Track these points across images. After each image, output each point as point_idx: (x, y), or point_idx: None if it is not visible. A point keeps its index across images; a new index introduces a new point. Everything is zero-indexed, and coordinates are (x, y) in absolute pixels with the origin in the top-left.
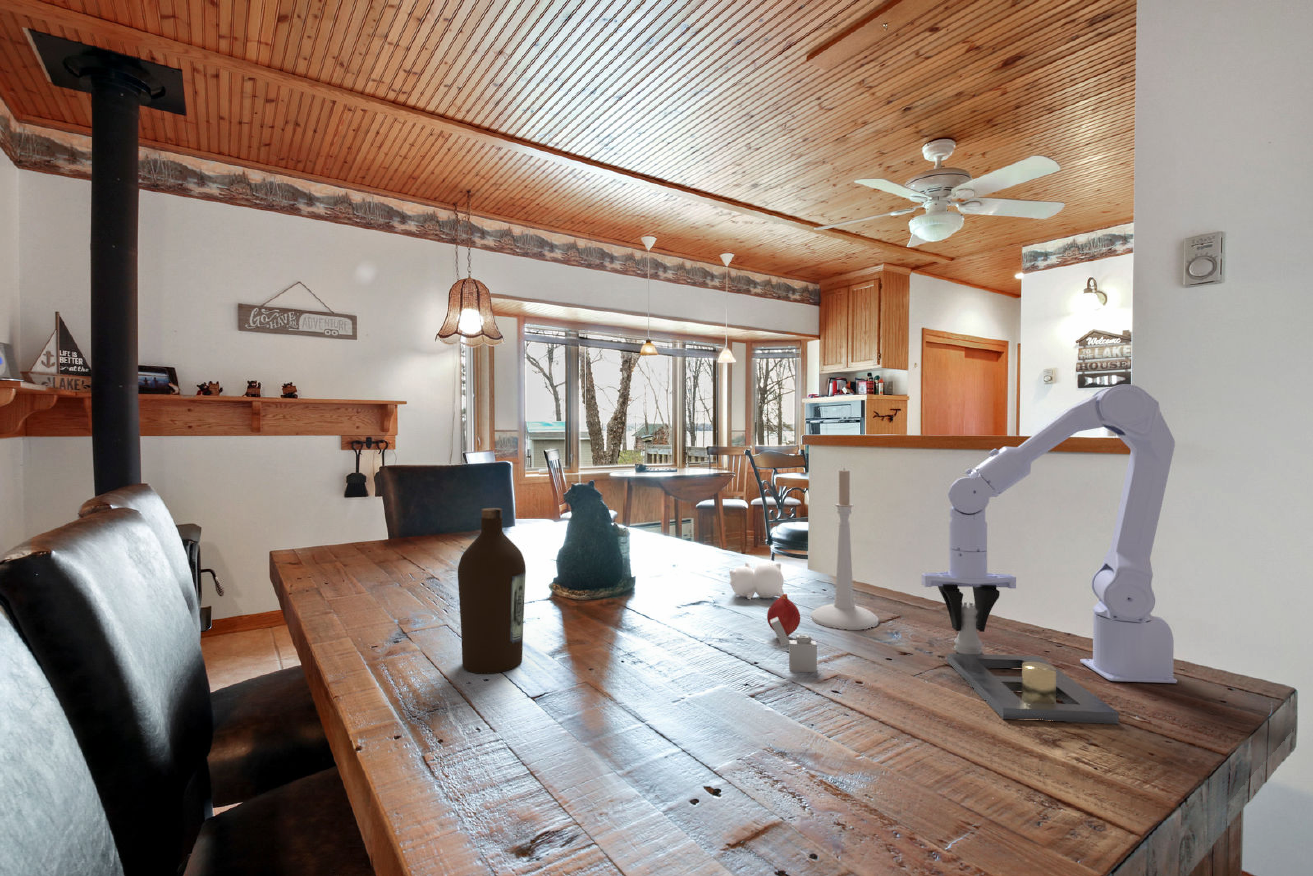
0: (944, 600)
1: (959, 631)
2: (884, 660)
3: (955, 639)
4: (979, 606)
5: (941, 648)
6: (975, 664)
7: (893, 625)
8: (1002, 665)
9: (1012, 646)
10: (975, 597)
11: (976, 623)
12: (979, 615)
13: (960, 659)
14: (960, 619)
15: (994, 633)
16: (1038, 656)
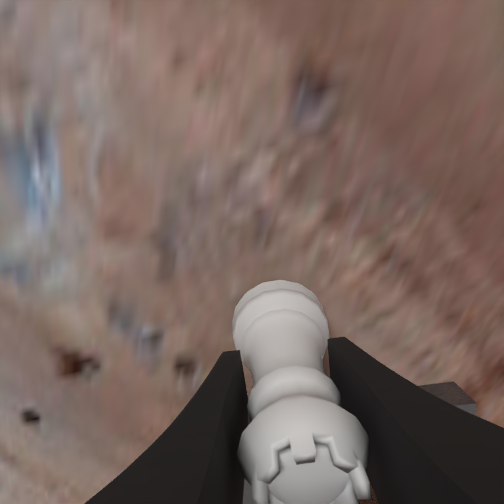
0: (141, 458)
1: (249, 360)
2: (20, 431)
3: (236, 334)
4: (389, 484)
5: (197, 292)
6: (252, 502)
7: (20, 14)
8: None
9: (457, 213)
10: (417, 478)
11: (336, 366)
12: None
13: None
14: None
15: (462, 41)
16: (472, 405)
